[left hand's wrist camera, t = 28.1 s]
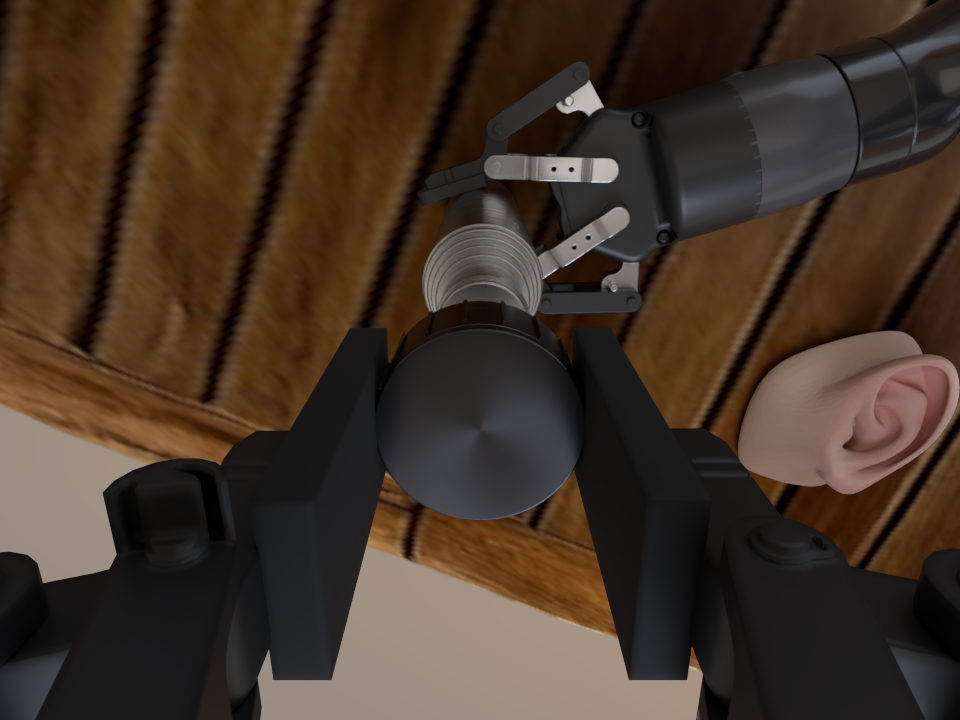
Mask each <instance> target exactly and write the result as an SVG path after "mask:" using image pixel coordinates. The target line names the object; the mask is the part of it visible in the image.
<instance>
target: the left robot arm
mask: <svg viewBox="0 0 960 720" xmlns="http://www.w3.org/2000/svg"><path fill="white" fill-rule="evenodd" d="M387 363H388V346H387V328H350V329H349V331H348V333H347V335H346V336H345V338H344V340H343V341H342V343H341V345H340V346H339V348H338V350H337V351H336V353H335V355H334V357H333V358H332V360H331V362H330V363H329V365H328V367H327V368H326V370H325V372H324V373H323V375H322V377H321V378H320V380H319V382H318V384H317V385H316V387H315V389H314V390H313V392H312V394H311V395H310V397H309V399H308V400H307V402H306V404H305V405H304V407H303V409H302V411H301V412H300V414H299V416H298V417H297V419H296V421H295V422H294V424H293V426H292V427H291V429H290V431H256V432H254V433H253V434H251V435H249V436H248V437H246V438H245V439H243V440H241V441H240V442H238V443H237V444H235V445H234V446H233V447H232V449H231V450H230V451H229V453H228V454H227V455H226V457H225V458H224V459H223V461H222V464H221V466H220V465H219V464H217V463H216V462H212V461H208V460H203V459H173V460H167V461H162V462H156V463H153V464H150V465H147V466H144V467H141V468H138V469H135V470H133V471H131V472H129V473H127V474H125V475H124V476H122V477H120V478H118V479H117V480H115V481H114V482H113V483H112V484H111V485H110V486H109V487H108V488H107V489H106V490H105V491H104V492H103V496H104V501H105V505H106V509H107V514H108V518H109V523H110V527H111V531H112V536H113V540H114V544H115V549H116V553H117V555H116V557H115V559H114V561H113V563H112V565H111V567H110V569H108V570H104V571H101V572H97V573H93V574H88V575H83V576H78V577H73V578H67V579H62V580H57V581H52V582H47V583H43V582H42V578H41V574H40V571H39V567H38V564H37V563H36V562H35V561H34V560H33V559H32V558H30V557H29V556H28V555H24V554H19V553H13V552H1V553H0V720H260V716H261V708H262V707H261V699H260V692H259V686H258V679H257V678H258V675H259V672H260V670H261V667H262V665H263V662H264V660H265V657H266V655H267V652H268V650H269V651H270V658H271V666H272V673H273V679H274V680H331V679H332V676H333V672H334V668H335V664H336V660H337V656H338V652H339V649H340V645H341V641H342V637H343V633H344V630H345V626H346V622H347V618H348V614H349V610H350V606H351V603H352V599H353V595H354V591H355V587H356V583H357V580H358V575H359V572H360V568H361V564H362V560H363V557H364V553H365V549H366V545H367V541H368V537H369V533H370V530H371V526H372V522H373V518H374V514H375V510H376V507H377V503H378V499H379V495H380V491H381V487H382V483H383V480H384V476H385V472H386V467H385V465H384V463H383V461H382V459H381V457H380V454H379V451H378V447H377V435H376V417H375V409H376V404H377V401H378V397H379V394H380V393H379V392H378V387H379V384H380V382H381V379H382V376H383V373H384V371H385V368H386V365H387ZM572 370H573V371H574V374H575V376H576V379H577V382H578V385H579V388H580V390H581V393H582V398H583V401H584V406H585V426H584V442H583V450H582V453H581V456H580V458H579V460H578V463H577V465H576V466H575V468H574V470H575V474H576V478H577V482H578V486H579V490H580V493H581V497H582V501H583V505H584V509H585V513H586V516H587V520H588V524H589V528H590V532H591V536H592V539H593V543H594V547H595V551H596V555H597V559H598V562H599V566H600V570H601V574H602V578H603V582H604V586H605V589H606V593H607V597H608V601H609V605H610V609H611V612H612V616H613V620H614V624H615V628H616V632H617V635H618V639H619V643H620V647H621V651H622V654H623V658H624V662H625V666H626V670H627V674H628V678H629V680H687V676H688V669H689V662H690V655H691V648H692V647H693V650H694V653H695V655H696V658H697V660H698V663H699V665H700V668H701V670H702V673H703V679H702V685H701V692H700V698H699V705H698V712H697V718H696V720H960V549H947V550H942V551H936V552H933V553H932V554H931V555H930V556H928V557H927V558H926V559H925V560H924V562H923V566H922V569H921V573H920V577H919V580H914V579H909V578H904V577H898V576H893V575H888V574H883V573H878V572H873V571H868V570H864V569H860V568H856V567H852V566H849V564H848V562H847V560H846V558H845V556H844V554H843V553H842V551H841V550H840V549H839V548H838V546H837V545H836V544H835V543H834V542H833V540H831V539H830V538H828V537H827V536H825V535H824V534H822V533H821V532H819V531H818V530H816V529H815V528H812V527H810V526H807V525H805V524H802V523H800V522H797V521H795V520H791V519H786V518H782V517H781V516H780V514H779V513H778V511H777V510H776V509H775V507H774V506H773V505H772V503H771V502H770V501H769V499H768V498H767V497H766V495H765V494H764V493H763V491H762V490H761V488H760V487H759V486H758V484H757V483H756V482H755V480H754V479H753V478H752V477H750V474H749V472H748V471H747V469H746V468H745V467H744V465H743V464H742V463H739V459H738V457H737V456H736V455H735V453H734V452H733V451H732V449H731V448H730V446H729V445H728V444H727V443H726V442H725V441H723V440H721V439H720V438H718V437H717V436H715V435H713V434H712V433H710V432H709V431H707V430H705V429H670V428H669V427H668V425H667V423H666V422H665V420H664V418H663V416H662V415H661V413H660V411H659V410H658V408H657V406H656V405H655V403H654V401H653V400H652V398H651V396H650V395H649V393H648V391H647V389H646V388H645V386H644V384H643V383H642V381H641V379H640V378H639V376H638V374H637V373H636V371H635V369H634V368H633V366H632V364H631V362H630V361H629V359H628V357H627V356H626V354H625V352H624V351H623V349H622V347H621V346H620V344H619V342H618V341H617V339H616V337H615V335H614V334H613V332H612V330H611V329H610V328H574V335H573V355H572Z"/></svg>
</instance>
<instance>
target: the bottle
mask: <svg viewBox="0 0 960 720" xmlns="http://www.w3.org/2000/svg"><path fill="white" fill-rule="evenodd" d="M422 290H423V296H424V300H425V303H426V306H427V308H428V311H429V312H430V311H433V312H435V311H437V310H439V309H442V308H444V307H447V306H450V305H453V304H458V303H462V302H463V301H464V300H466V299H468V302H469V301H492V302H498V303H500V302H501V301H505V304H507V305H510V306H514V307H516V308H519V309H521V310H523V311H525V312H527V313H529V314H531V315H532V316H534V315H535V313H536V311H537V309H538V306H539V304H540V300H541V297H542V292H543V273H542V268H541V265H540V262H539V259H538V257H537V254H536V252H535V249H534V247H533V244H532V242H531V239H530V237H529V234H528V232H527V229H526V227H525V224H524V222H523V219H522V217H521V214H520V212H519V209H518V207H517V204H516V202H515V199H514V197H513V195H512V194H511V192H510V191H509V190H508V189H507V187H505V186H504V185H503V184H502V183H500V182H498V181H496V180H494V179H493V180H490V181H487V186H485V187H482V188H479V189H475V190H472V191H468V192H466V193H463V194H459V195H456V196H453V197H451V198H450V200H449V202H448V205H447V208H446V210H445V213H444V215H443V218H442V221H441V223H440V226H439V228H438V231H437V234H436V236H435V239H434V241H433V244H432V247H431V249H430V252H429V254H428V257H427V260H426V262H425V266H424V269H423V275H422Z"/></svg>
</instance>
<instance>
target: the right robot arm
mask: <svg viewBox="0 0 960 720" xmlns="http://www.w3.org/2000/svg"><path fill="white" fill-rule="evenodd" d="M589 79H590V69H589V67H588V66H587V65H586V64H585V63H583V62H575V63H573V64H571V65H569V66H567V67H566V68H564V69H563V70H561V71H560V72H559V73H557V74H556V75H554V76H553V77H551V78H550V79H548V80H547V81H545V82H544V83H542V84H541V85H539V86H538V87H536V88H535V89H533V90H532V91H530V92H529V93H528V94H526V95H525V96H523V97H522V98H520V99H519V100H517V101H516V102H514V103H513V104H511V105H510V106H508V107H507V108H505V109H504V110H502V111H501V112H500V113H498V114H497V115H495V116H494V117H492V118H491V119H490V120H489V121H488V122H487V124H486V137H485V149H484V151H483V153H482V155H481V156H480V157H478V158H477V159H474V160H471V161H468V162H465V163H462V164H459V165H455V166H452V167H449V168H446V169H443V170H440V171H437V172H434V173H433V174H432V175H430V176H429V177H428V178H427V179H426V180H425V182H426V185H427V188H425V189H422V190H420V191H419V192H418V196H419V199H420V202H421V205H422V206H423V205H427V204H431V203H434V202H437V201H440V200H443V199H447V198H450V197H453V196H456V195H459V194H463V193H466V192H468V191H472V190H475V189H479V188H482V187H485V186H487V181H490V180H493V179H511V180H531V181H548V184H549V188H550V191H551V193H552V195H553V196H554V198H555V200H556V201H557V205H558V210H557V218H558V222H559V226H560V229H559V230H558V231H556V232H555V233H554V234H552V235H551V236H549V237H548V238H547V239H546V240H545V241H544V242H543V243H542V244H540V245H539V246H538V247H536V248H535V252H536V254H537V257H538V259H539V262H540V265H541V268H542V273H543V292H542V297H541V300H540V304H539V306H538V309H537V310H538V311H539V312H541V313H543V314H567V313H611V312H634V311H636V310H638V309H639V308H640V306H641V304H642V298H641V296H640V294H639V293H638V290H637V289H638V272H639V262H641V261H643V260H644V259H646V258H647V257H648V256H649V255H650V254H651V253H652V252H653V251H655V250H656V249H658V248H660V247H662V246H665V245H668V244H672V243H675V242H679V241H682V240H686V239H689V238H692V237H696V236H699V235H702V234H706V233H709V232H713V231H716V230H719V229H723V228H726V227H729V226H733V225H736V224H739V223H743V222H746V221H749V220H753V219H756V218H760V217H763V216H766V215H770V214H773V213H777V212H780V211H783V210H787V209H790V208H793V207H796V206H799V205H801V204H804V203H806V202H809V201H811V200H813V199H815V198H818V197H820V196H822V195H824V194H827V193H829V192H832V191H835V190H837V189H840V188H844V187H848V186H851V185H854V184H858V183H861V182H864V181H868V180H871V179H875V178H878V177H881V176H885V175H888V174H891V173H895V172H898V171H901V170H904V169H907V168H910V167H913V166H915V165H918V164H920V163H923V162H925V161H928V160H930V159H932V158H933V157H935V156H937V155H938V154H940V153H941V152H942V151H943V150H944V149H945V148H946V147H947V146H948V145H949V144H950V143H951V142H952V141H953V140H954V138H955V137H956V136H957V135H958V133H959V132H960V0H940V1H938V2H937V3H935V4H933V5H931V6H930V7H928V8H926V9H925V10H923V11H922V12H920V13H918V14H917V15H916V16H914V17H912V18H911V19H909V20H908V21H906V22H905V23H903V24H902V25H900V26H898V27H897V28H895V29H893V30H891V31H889V32H887V33H884V34H880V35H877V36H873V37H870V38H867V39H863V40H860V41H857V42H854V43H850V44H847V45H844V46H841V47H838V48H835V49H832V50H828V51H825V52H822V53H819V54H816V55H813V56H809V57H805V58H801V59H796V60H790V61H784V62H778V63H773V64H769V65H765V66H762V67H759V68H756V69H752V70H749V71H746V72H737V73H733V74H731V75H729V76H727V77H725V78H724V79H721V80H718V81H715V82H712V83H709V84H706V85H702V86H699V87H696V88H693V89H690V90H687V91H684V92H680V93H677V94H674V95H671V96H668V97H665V98H661V99H658V100H655V101H652V102H649V103H646V104H643V105H639V106H636V107H633V108H629V109H617V108H613V107H604V106H603V104H602V103H601V101H600V99H599V97H598V95H597V93H596V91H595V90H594V88H593V86H592V84H591V82H590V80H589ZM553 106H555V108H556V109H557V111H559V112H560V113H571V112H573V111H576V110H577V111H581V112H582V113H584V114H585V116H586V117H585V119H584V120H583V121H582V123H581V124H580V125H579V127H578V128H577V129H576V131H575V132H574V133H573V135H572V136H571V137H570V138H569V140H568V141H567V142H566V144H565V145H564V146H563V148H562V149H561V150H560V152H559V153H558V154H541V153H527V154H520V153H508V140H509V136H510V135H511V134H513V133H514V132H516V131H517V130H519V129H520V128H522V127H523V126H525V125H526V124H528V123H529V122H531V121H532V120H534V119H535V118H537V117H538V116H540V115H541V114H543V113H544V112H546V111H547V110H549V109H550V108H552V107H553ZM574 246H575V247H574ZM572 247H574V248H572ZM588 251H591V252H593V253H596V254H599V255H602V256H605V257H608V258H611V259H613V260H616V261H619V265H618V266H617V267H616V268H615V269H614V270H612V271H607V272H605V273H603V274H602V275H601V276H600V278H599V282H570V283H547V281H546V280H545V277H547V276H548V275H550V274H551V273H553V272H554V271H556V270H557V269H559V268H563V267H565V266H567V265H568V264H570V263H571V262H573V261H574V260H576V259H577V258H579V257H580V256H582V255H583V254H585V253H586V252H588Z"/></svg>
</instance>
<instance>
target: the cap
mask: <svg viewBox="0 0 960 720" xmlns="http://www.w3.org/2000/svg"><path fill="white" fill-rule="evenodd" d="M378 392H379V393H380V394H379V397H378V401H377V404H376V409H375V417H376V435H377V447H378V451H379V454H380V457H381V459H382V461H383V463H384V465H385V467H386V469H387V470H388V472H389V474H390V475H391V477H392V478H393V479H394V480H395V482H396V483H397V484H398V485H399V486H400V487H401V488H402V489H403V490H404V491H405V492H406V493H407V494H408V495H409V496H411V497H412V498H413V499H415V500H416V501H418V502H419V503H420V504H422V505H424V506H426V507H428V508H430V509H432V510H434V511H437V512H439V513H442V514H444V515H448V516H452V517H456V518H461V519H468V520H492V519H499V518H505V517H509V516H513V515H516V514H519V513H522V512H524V511H526V510H529V509H531V508H533V507H535V506H536V505H538V504H540V503H542V502H543V501H545V500H546V499H547V498H549V497H550V496H551V495H552V494H554V493H555V492H556V491H557V490H558V489H559V488H560V487H561V486H562V485H563V484H564V483H565V481H566V480H567V479H568V477H569V476H570V475H571V473H572V472H573V470H574V468H575V466H576V465H577V463H578V460H579V458H580V456H581V453H582V450H583V442H584V426H585V406H584V401H583V398H582V393H581V390H580V388H579V385H578V382H577V379H576V376H575V374H574V371H573V370H572V367H571V363H570V360H569V357H568V354H567V351H566V349H565V346H564V343H563V341H562V339H559V340H558V339H557V337H556V336H555V335H554V333H553V332H552V331H551V330H550V329H549V328H548V327H547V326H546V325H545V324H543V323H542V322H541V321H540V320H539V317H538V316H537V315H536V314H535V315H534V316H532V315H531V314H529V313H527V312H525V311H523V310H521V309H519V308H516V307H514V306H510V305H507V304H505V301H501V302H500V303H498V302H492V301H469V302H468V299H466V300H464V301H463V302H462V303H458V304H453V305H450V306H447V307H444V308H442V309H439V310H437V311H435V312H433V311H430V312H429V314H428V316H427V317H425V318H424V319H422V320H421V321H419V322H418V323H417V324H416V325H415V326H414V327H413V328H412V329H411V330H410V331H409V332H408V333H407V334H405V333H404V334H403V335H402V337H401V340H400V343H399V345H398V347H397V349H396V351H395V353H394V355H393V358H392V360H391V363H387V365H386V368H385V371H384V373H383V376H382V379H381V382H380V384H379V387H378Z"/></svg>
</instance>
